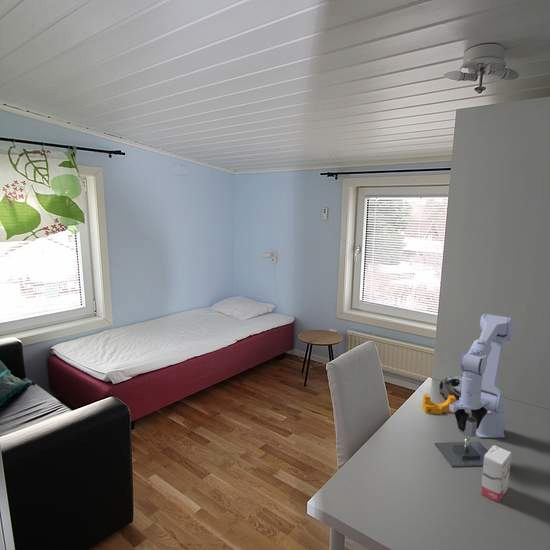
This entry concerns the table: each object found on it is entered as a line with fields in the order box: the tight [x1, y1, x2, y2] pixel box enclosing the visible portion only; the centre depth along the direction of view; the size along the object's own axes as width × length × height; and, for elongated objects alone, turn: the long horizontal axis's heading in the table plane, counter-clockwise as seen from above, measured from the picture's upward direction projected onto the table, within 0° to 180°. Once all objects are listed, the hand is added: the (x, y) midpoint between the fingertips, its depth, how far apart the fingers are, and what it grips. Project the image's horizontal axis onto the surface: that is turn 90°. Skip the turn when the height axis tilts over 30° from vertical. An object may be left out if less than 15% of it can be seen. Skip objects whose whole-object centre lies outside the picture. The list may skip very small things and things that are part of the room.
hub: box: [459, 414, 477, 438], centre depth 123 cm, size 5×5×5 cm
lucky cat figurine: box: [438, 375, 462, 402], centre depth 162 cm, size 15×12×14 cm
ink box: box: [480, 444, 512, 503], centre depth 107 cm, size 9×5×12 cm, turn 132°
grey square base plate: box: [434, 437, 489, 468], centre depth 124 cm, size 16×12×6 cm
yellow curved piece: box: [422, 393, 456, 415], centre depth 152 cm, size 12×4×6 cm, turn 84°
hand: (468, 428), depth 123 cm, fingers closed on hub, 5 cm apart
